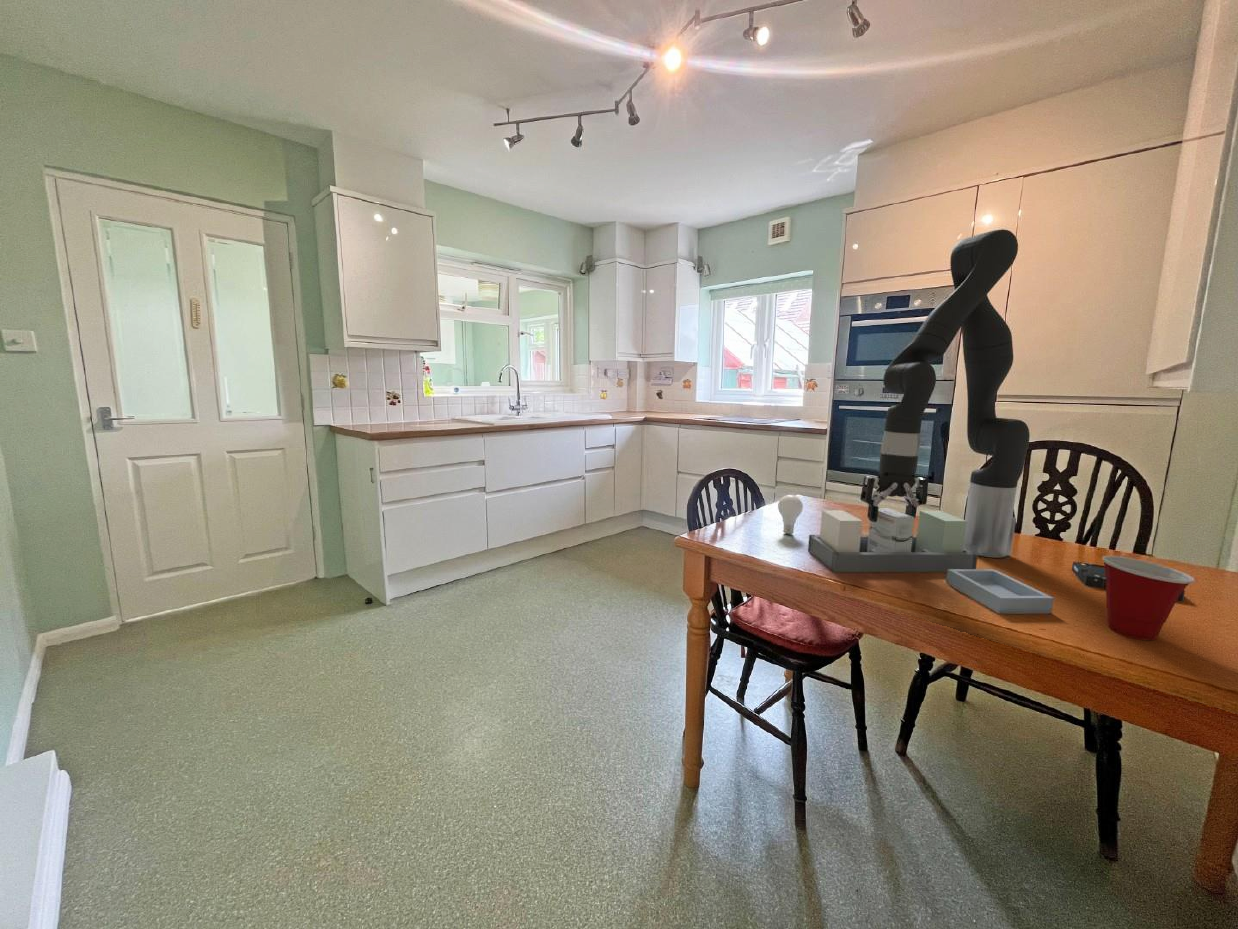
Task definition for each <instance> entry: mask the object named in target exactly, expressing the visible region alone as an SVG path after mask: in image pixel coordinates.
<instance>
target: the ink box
mask: <svg viewBox="0 0 1238 929" xmlns="http://www.w3.org/2000/svg"><path fill="white" fill-rule="evenodd" d="M915 520H916V518H915V517H912V516H909V515H906V514H905V512H904V513H903V512H900V511H897V510H895V509H892V508H889V507H881V508H880V507H879V509H878V517H877V522H872V521H870V520H869V530H868V535H869V537H868V546H867V552H870V549H875V550H876V551H878V552H911V546H912V538H913V535H914V528H915Z"/></svg>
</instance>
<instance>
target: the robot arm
mask: <svg viewBox="0 0 1238 929" xmlns="http://www.w3.org/2000/svg"><path fill="white" fill-rule="evenodd" d="M1018 242H1019V241H1018V239H1017V237H1016V235H1015V234H1014V233H1013V232H1012V231H1011V230H1009V229H1003V228H1002V229H996V230H990V231H987V232H984V233H979V234H976V235H973V236H968V237H966V238H964V239H961V240H958V242H957V243H956V244H955V245H954V247H953V249H952V250H951V254H950V262H949V263H950V265H949V267H950V274H951V277H952V283H953V288H954V291H952V293H951V294H950V295H949V296H947V297H946V298H945V299H944V300H943V301H942V302H941V303H939V304H938V305H937V306H936V307H935V308H934V309H933V310H932V311H931V312H930V313H929V314H928V315H927V317H926V318H925V320H924V321H923V323H922V324H921V326H920V327H919V329H918V330H917V332H916V334H915V335H914V337H913V339H912V340H911V342H910V343H909V344H908V345H907V346H906V347H905V348H903V349H902V350H901V351H900V352H899V354H898V355H897V356H895V358H894V359H893V360H892V361H891V362H890V363H889V365H888V366H887V368H886V369H885V372H884V375H883V386H884V388H885V390H886V391H887V392H889V393H891V394H895V395H903V396H902V397H901V400H900V402H899V403H898V404H896V405H895V404H894V405H891V406H890V407H889V408H888V409H887V411H886V417H885V423H884V424H885V425H884V433H883V437H882V439H881V440H882V441H881V445H880V446H881V448H880V453H879V454H880V456H879V463H878V476H877V477H873V476H869V475H865V476H864V477H863V481H862V487H861V494H860V501H861V502H864V503H866V504H867V506H868V507H867V508H868V509H867V518H868V520H869V522H870V521H872V522H877V517H878V509H879V508H880V506H879V504H880V503H881V502H882V501H883V500H885V499H887V498H888V497H891V498H892V497H899V498H901V497H902V498H903V499H904V500H905V502H906V503H907V505H905V512H904V514H906V515H909V516H912V517H915V519H916V516H917V509H918V507H919V506H922V505H926V504H927V501H928V493H929V492H928V491H929V490H928V489H929V480H928V479H927V478H924V477H921V476H918V477H915V475H916V474H917V470H918V462H919V453H920V446H921V428H922V421H923V415H924V413H925V410H926V408H927V406H928V404H929V402H930V399H931V397H932V394H933V392H934V390H935V387H936V384H937V382H936V381H937V375H936V370H935V368H934V367H933V365H932V364H931V363H932V362H935V361H937V360H939V359H940V358H942V357H943V356H944V355H945V353H946V352H947V350H948V348H949V347H950V345H951V344H952V343H953V341H954V339H955V338H956V335H957V334H958V332H959V330H960V329H961V336H962V353H963V362H964V369H965V379H966V391H967V392H966V393H967V417H966V418H967V422H966V423H967V424H966V435H967V441H968V446H969V448H970V449H971V450H972V451H973V452H974V453H976V454H981V455H983V456H984V455H986V456H990V457H992V460H991V463H990V465H989V466H987V467H984V468H983V467H982V468H979V469H974V470H972V472H971V474H970V477H969V478H970V480H969V486H968V495H967V502H966V508H965V509H966V510H965V514H964V515H965V516H964V520H965V521H967V526H966V534H965V541H964V549H967V550H969V551H971V552H973V553H975V554H977V555H978V557H979V556H980V557H987V558H996V559H999V558H1002V559H1003V558H1005V557H1009V556H1011V555H1012V554H1011V553H1012V547H1013V543H1014V535H1015V527H1016V522H1017V518H1016V517H1015V516H1013V515H1014V508H1015V501H1016V494H1017V488H1018V482H1019V480H1020V478H1021V476H1022V474H1023V471H1024V467H1025V463H1026V458H1027V454H1028V449H1029V443H1030V429H1029V426H1028V425H1027V423H1026V422H1025V421H1023V420H1021V419H1015V418H1007V417H1006V418H1005V417H1004V418H1002V417H997V415H996V414H997V412H996V399H997V393H998V391H999V389H1000V387H1001V386H1002V385H1003V382H1004V381H1005V379H1006V377H1007V376H1008V374H1009V372H1010V371H1011V369H1012V366H1013V363H1014V346H1013V336H1012V334H1013V333H1012V331H1011V329H1010V327H1009V325H1008V323H1007V322H1006V320H1004V318H1003V317H1002V316H1001V315H1000V314H999V312H998V311H997V309H996V308H995V307H994V306H993V304H992V303H991V300H990V299H989V297H988V294H989V293H990V291H992V289H993V288H994V287H995V285H996V284H997V283H998V282H999V281H1000V280H1001V279H1002V278H1003V277H1004V275H1006V273H1007V272H1008V271H1009V269H1010V268H1011V266H1012V265H1013V264H1014V262H1015V260H1016V259H1017V255H1018V251H1019V244H1018ZM930 362H931V363H930ZM876 485H877V486H878V487H877V488H875V490H874V487H875V486H876ZM914 486H915V493H914V492H913V490H912V488H913V487H914Z"/></svg>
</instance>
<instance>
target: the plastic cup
mask: <svg viewBox="0 0 1238 929" xmlns="http://www.w3.org/2000/svg"><path fill="white" fill-rule="evenodd" d="M1101 559H1102V561H1103V563H1104V565H1103V566H1105V577H1106V589H1105V590H1106V591H1105V596H1106V598H1105V601H1106V604H1105V605H1106V609H1107V610H1106V611H1107V613H1106V614H1107V624H1108V628H1110V630H1112V631H1114V632H1116V633H1117V634H1120V635H1123V636H1125V637H1128V638H1133V639H1136V640H1137V639H1138V640H1142V641H1153V640H1156V639H1157V637H1158V636H1159V634H1160V632H1161V629H1162V628H1163V626H1164V624H1165V623H1166V622H1167V619H1168V618H1169V615H1170V613H1171V612H1172V610H1173V608H1174V607H1175V604H1176V602H1177V599H1178V597H1179V595H1181V593H1182V591H1183V590H1186V588H1187V587H1188V586H1189V585H1190V584H1192V583H1194V582H1195V577H1194V576H1191V575H1189V574H1188V573H1187V572H1183V571H1180V570H1178V569H1175V568H1171V567H1168V566H1165V565H1163V564H1159V563H1155V562H1151V561H1146V560H1142V559H1138V558H1133V557H1128V556H1127V557H1126V556H1120V555H1103V556H1102V557H1101Z"/></svg>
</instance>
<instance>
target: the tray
mask: <svg viewBox="0 0 1238 929" xmlns="http://www.w3.org/2000/svg"><path fill="white" fill-rule="evenodd" d="M945 580H946V581H945V583H946V584H947V585H949V586H951V587H952V588H954V589H955V590H957V589H958V590H957V591H959V592H961V593H963V594H965V595H966V596H968V597H969V598H971V599H972V600H974V601H976V602H977V603H979V604H981V605H983V606H985V607H986V608H988V609H989V610H992V611H993V612H995V613H996V614H998V615H1004V614H1005V615H1006V614H1008V615H1009V614H1010V615H1012V614H1022V615H1023V614H1024V615H1026V614H1032V615H1033V614H1052V612H1053V606H1054V600H1055V597H1052V596H1050V595H1049V594H1047V593H1044V592H1042V591H1041V590H1038V589H1036V588H1034V587H1032V586H1030V585H1028V584H1025V583H1024V582H1021V581H1019V580H1018V579H1016V578H1013V577H1011V576H1009V575H1007V574H1005V573H1003V572H1001V571H998V570H996V569H994V568H987V569H986V568H984V569H983V568H976V569H948V571H947V572H946V578H945Z"/></svg>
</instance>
